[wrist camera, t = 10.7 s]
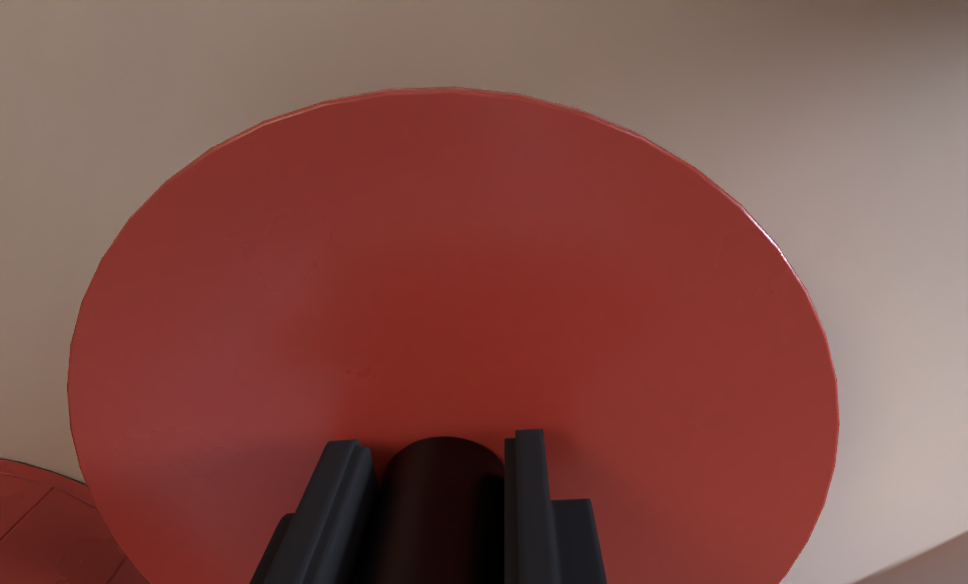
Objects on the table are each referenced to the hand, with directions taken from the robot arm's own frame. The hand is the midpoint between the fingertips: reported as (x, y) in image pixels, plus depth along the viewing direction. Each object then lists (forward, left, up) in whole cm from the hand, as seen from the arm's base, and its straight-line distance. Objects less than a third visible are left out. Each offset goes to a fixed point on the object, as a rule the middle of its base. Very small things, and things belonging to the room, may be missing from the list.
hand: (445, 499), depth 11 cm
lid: (0, 0, -1) cm, 1 cm away
